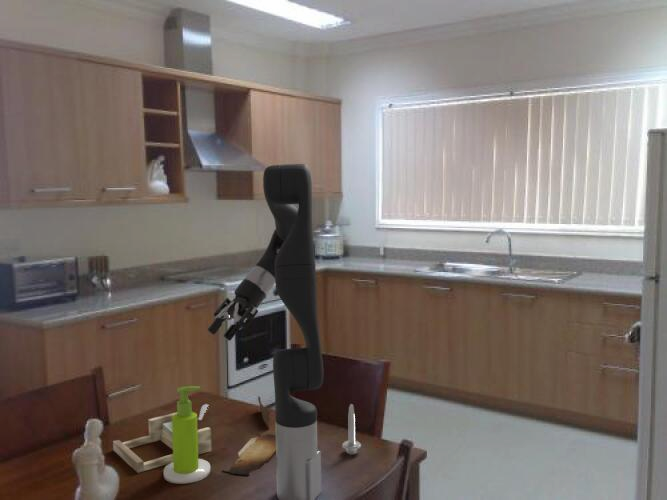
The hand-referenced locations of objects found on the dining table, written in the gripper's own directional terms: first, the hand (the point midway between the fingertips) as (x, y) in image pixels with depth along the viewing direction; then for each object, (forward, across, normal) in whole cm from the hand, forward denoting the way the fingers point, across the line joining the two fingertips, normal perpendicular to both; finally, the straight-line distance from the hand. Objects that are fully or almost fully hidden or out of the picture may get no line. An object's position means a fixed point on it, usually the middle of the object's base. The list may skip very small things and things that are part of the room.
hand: (218, 335), depth 159 cm
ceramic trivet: (+31, +6, +13) cm, 34 cm away
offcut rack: (+31, -10, +13) cm, 35 cm away
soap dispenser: (+30, +7, +12) cm, 33 cm away
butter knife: (+18, -23, +26) cm, 39 cm away
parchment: (+18, +8, +26) cm, 33 cm away
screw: (+4, +23, +40) cm, 46 cm away
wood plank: (+7, -11, +36) cm, 39 cm away
